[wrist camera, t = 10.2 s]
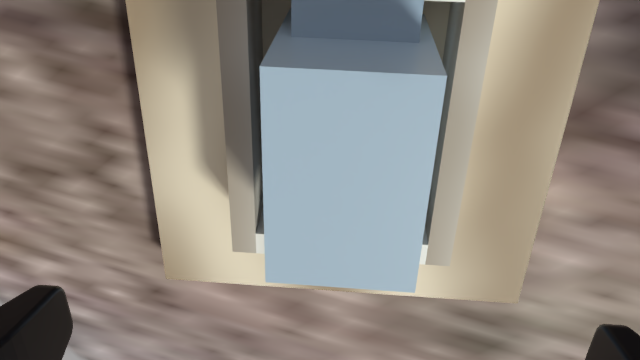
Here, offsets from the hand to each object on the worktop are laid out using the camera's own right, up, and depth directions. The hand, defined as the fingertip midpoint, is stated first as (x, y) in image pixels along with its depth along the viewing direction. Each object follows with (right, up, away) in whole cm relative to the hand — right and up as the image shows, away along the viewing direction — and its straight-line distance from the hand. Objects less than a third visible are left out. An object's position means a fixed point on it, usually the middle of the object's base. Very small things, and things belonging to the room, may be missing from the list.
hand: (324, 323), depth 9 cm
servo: (+1, +5, +9) cm, 10 cm away
